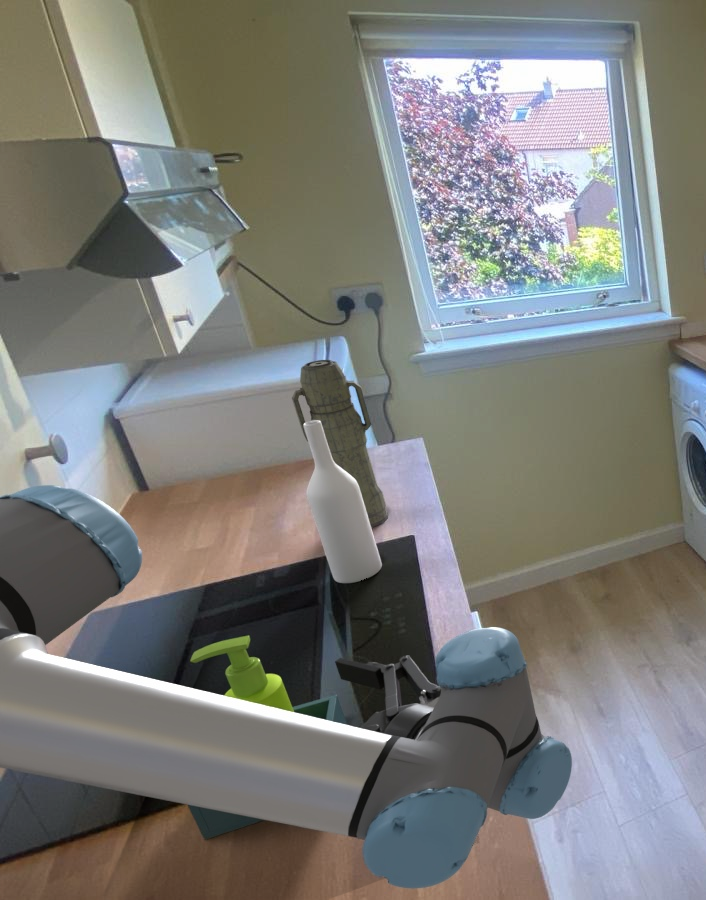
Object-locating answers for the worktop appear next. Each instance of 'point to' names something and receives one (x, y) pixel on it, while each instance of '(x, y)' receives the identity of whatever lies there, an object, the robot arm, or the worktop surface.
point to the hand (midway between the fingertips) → (288, 705)
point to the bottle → (339, 514)
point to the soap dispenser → (247, 674)
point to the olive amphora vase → (342, 428)
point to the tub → (224, 822)
